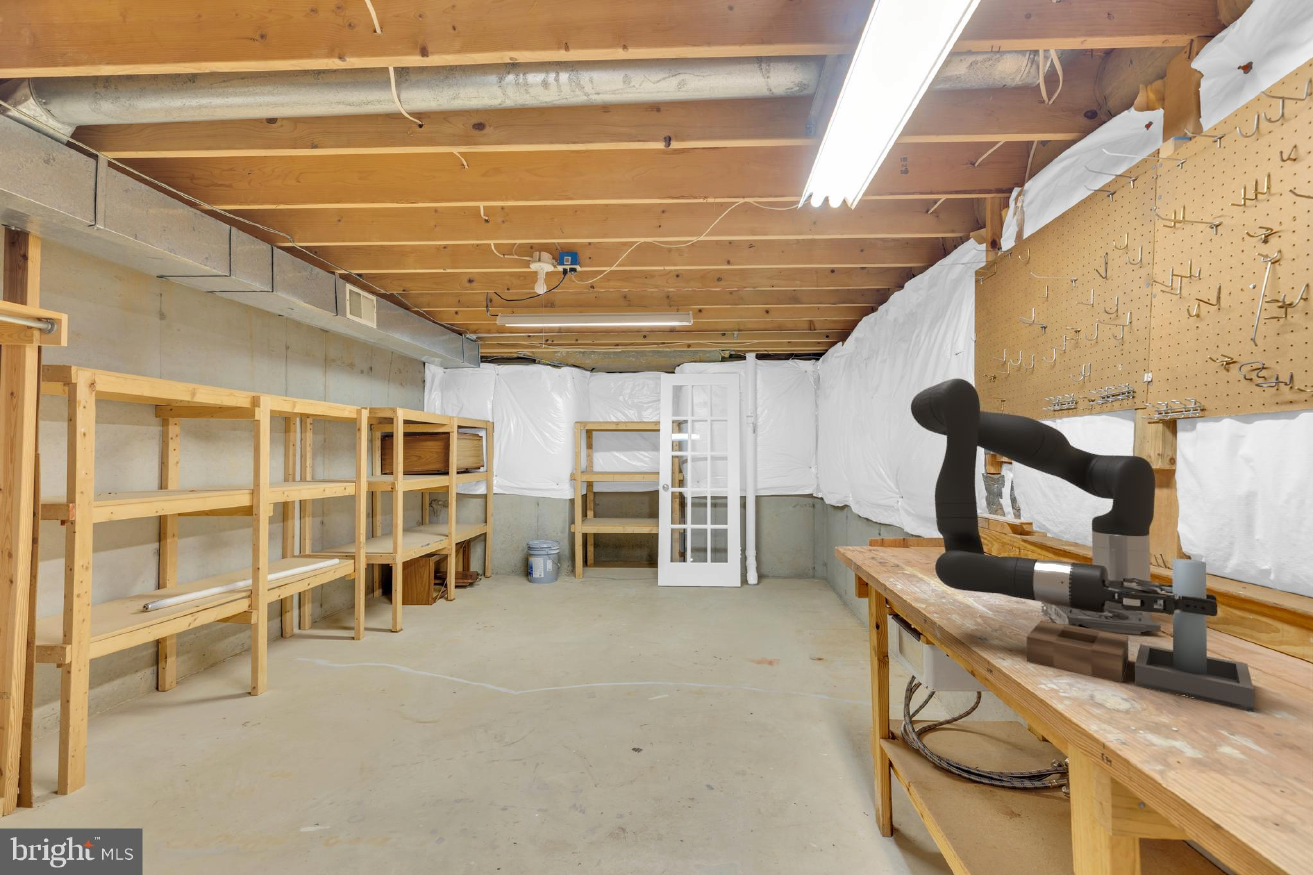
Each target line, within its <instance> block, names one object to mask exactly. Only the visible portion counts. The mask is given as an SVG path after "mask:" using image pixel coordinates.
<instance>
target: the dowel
mask: <svg viewBox="0 0 1313 875" xmlns="http://www.w3.org/2000/svg"><path fill="white" fill-rule="evenodd" d="M1171 560H1172V585H1173V593H1174V594H1177V595H1180V598H1181V596H1188V597H1196V598H1203V599H1206V594H1207V562H1206V561H1202V560H1196V559H1191V558H1189V559H1188V558H1172V559H1171ZM1207 621H1208V620H1207V615H1201V614H1195V613H1188V612H1182V610H1181V612H1180V613H1174V614H1172V650H1173V667H1174V668H1175V669H1177V670H1180V671H1183V672H1187V673H1191V674H1198V675H1205V674H1207V656H1208V653H1207V651H1208V650H1207V649H1208V645H1207V644H1208V643H1207V641H1208V640H1207V639H1208V638H1207V637H1208V636H1207V633H1208V632H1207V626H1208V625H1207Z"/></svg>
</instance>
